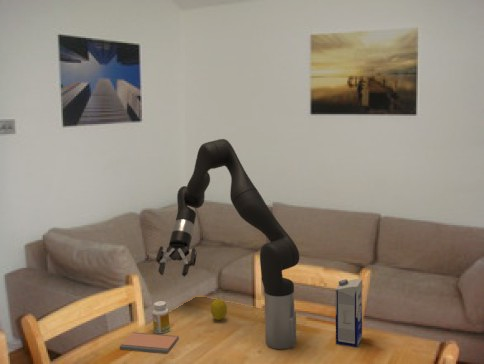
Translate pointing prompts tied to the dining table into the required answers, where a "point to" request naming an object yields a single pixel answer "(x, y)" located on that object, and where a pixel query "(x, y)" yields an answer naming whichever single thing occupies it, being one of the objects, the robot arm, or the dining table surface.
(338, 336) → the milk carton
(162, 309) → the supplement bottle
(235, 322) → the dining table surface
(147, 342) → the band board
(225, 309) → the lemon
